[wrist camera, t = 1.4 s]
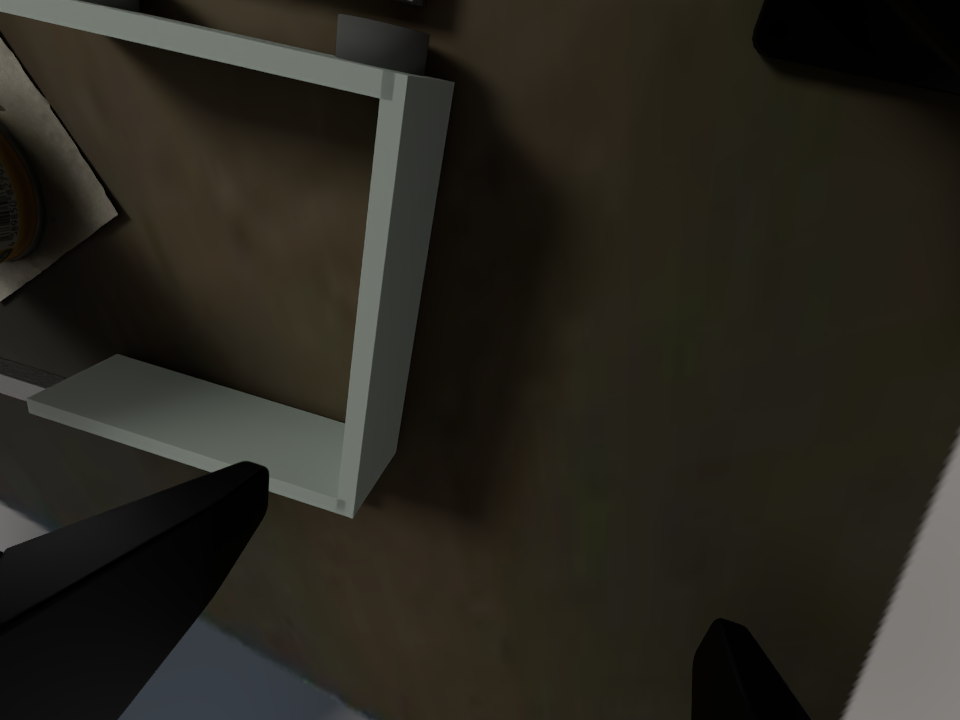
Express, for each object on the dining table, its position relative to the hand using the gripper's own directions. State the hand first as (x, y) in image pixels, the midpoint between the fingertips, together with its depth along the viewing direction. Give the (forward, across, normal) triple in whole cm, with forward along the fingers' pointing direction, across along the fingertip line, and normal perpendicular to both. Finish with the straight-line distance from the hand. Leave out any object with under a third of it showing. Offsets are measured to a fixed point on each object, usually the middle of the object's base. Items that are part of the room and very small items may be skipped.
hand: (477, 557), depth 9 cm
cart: (+11, +11, 0) cm, 15 cm away
